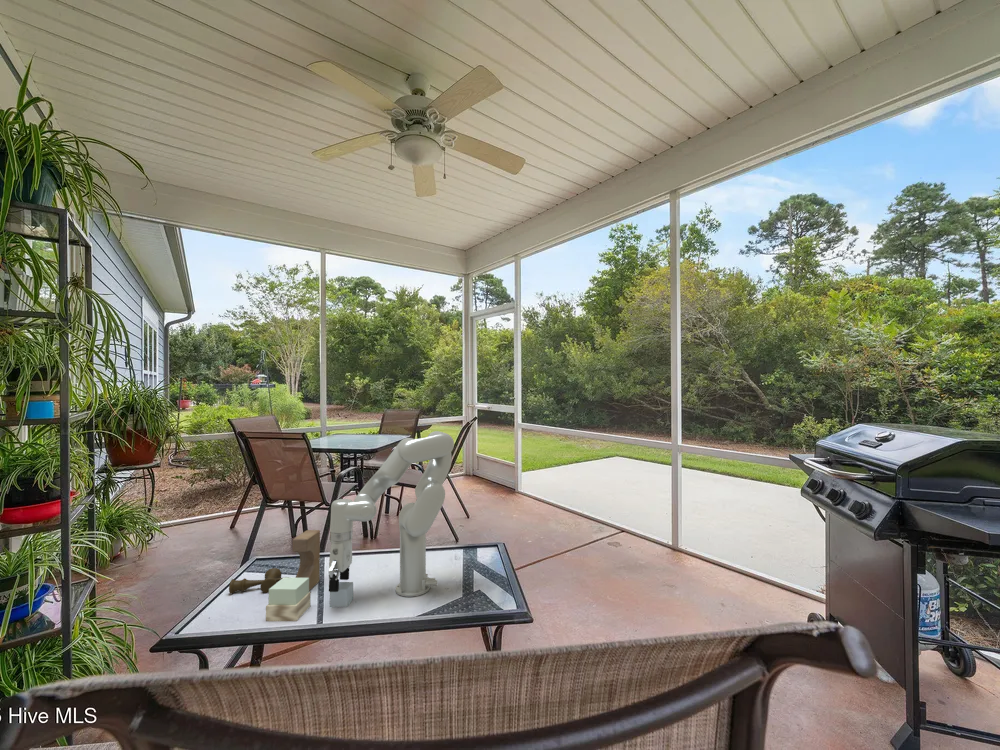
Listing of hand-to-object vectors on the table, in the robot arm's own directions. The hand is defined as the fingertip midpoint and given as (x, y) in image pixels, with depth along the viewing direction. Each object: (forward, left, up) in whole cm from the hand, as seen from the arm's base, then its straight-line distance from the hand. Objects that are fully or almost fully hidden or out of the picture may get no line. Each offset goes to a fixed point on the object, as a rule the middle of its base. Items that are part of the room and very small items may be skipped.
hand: (339, 585), depth 151 cm
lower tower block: (+14, +7, -7) cm, 17 cm away
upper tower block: (+14, +6, -2) cm, 16 cm away
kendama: (+34, -12, -7) cm, 37 cm away
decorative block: (+17, -12, -6) cm, 22 cm away
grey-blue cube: (-1, 0, -6) cm, 6 cm away
